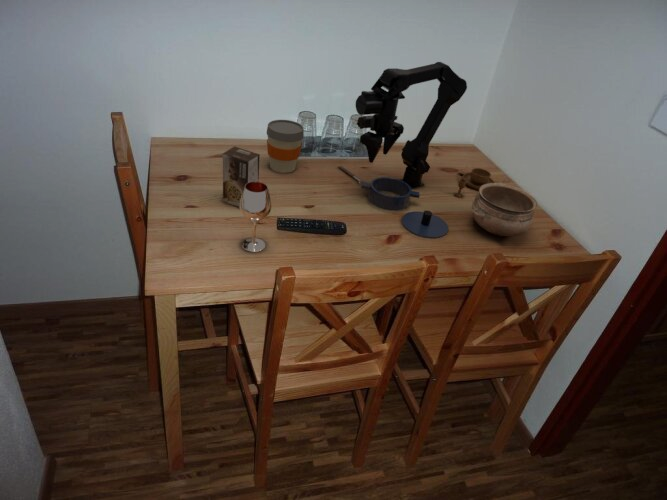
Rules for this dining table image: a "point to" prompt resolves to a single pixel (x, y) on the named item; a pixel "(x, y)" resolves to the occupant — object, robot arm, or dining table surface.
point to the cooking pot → (503, 209)
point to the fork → (349, 173)
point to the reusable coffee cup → (284, 144)
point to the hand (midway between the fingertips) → (377, 158)
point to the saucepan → (386, 200)
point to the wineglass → (255, 211)
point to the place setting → (474, 180)
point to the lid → (425, 224)
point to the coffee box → (238, 173)
